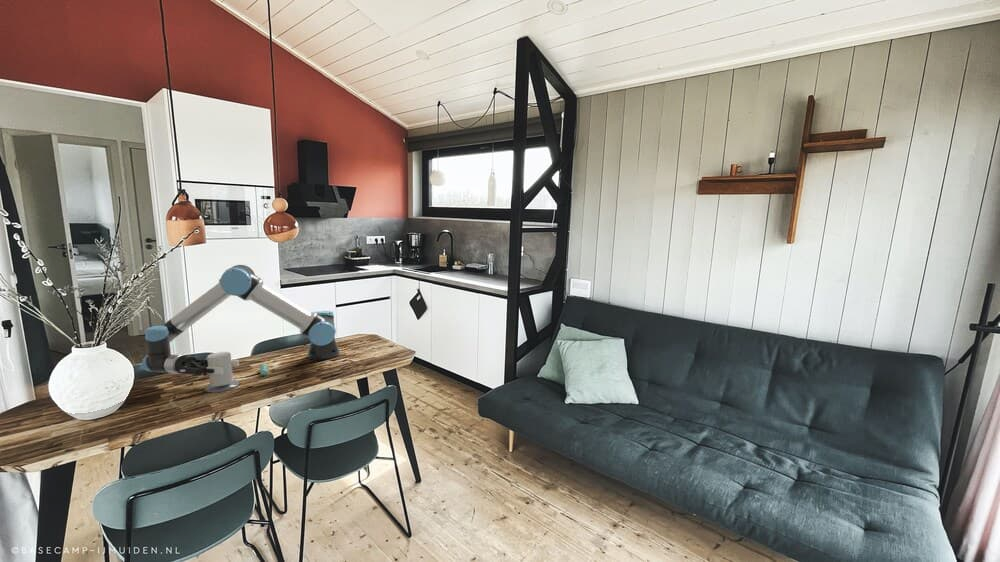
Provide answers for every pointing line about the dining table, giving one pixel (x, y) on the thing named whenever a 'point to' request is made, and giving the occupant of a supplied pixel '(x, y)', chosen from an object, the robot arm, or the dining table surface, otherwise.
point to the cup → (220, 361)
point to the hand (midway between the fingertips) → (230, 366)
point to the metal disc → (222, 387)
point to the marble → (264, 371)
